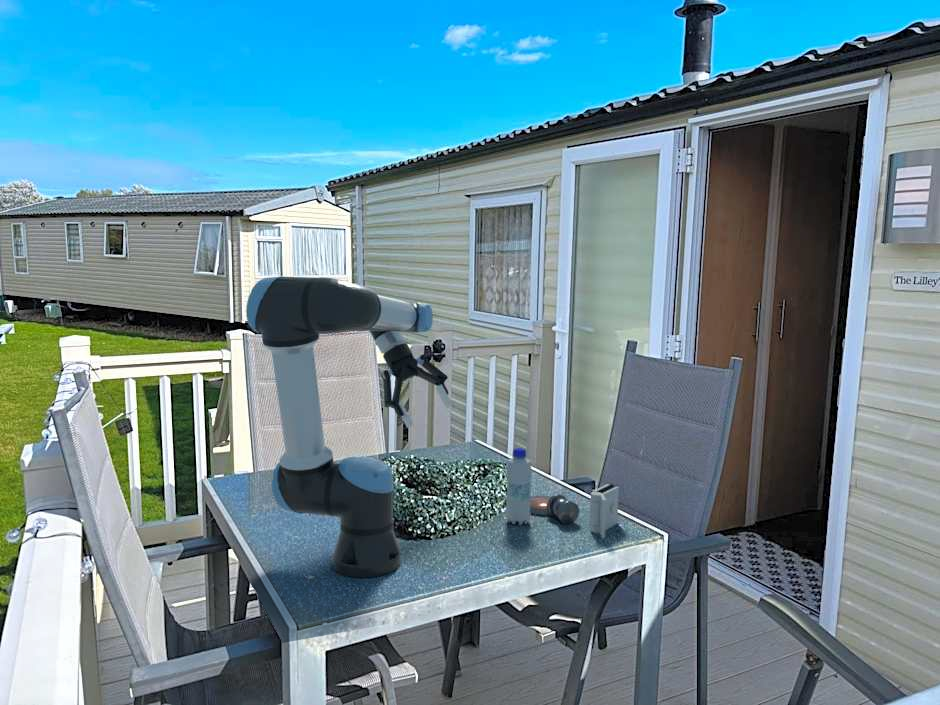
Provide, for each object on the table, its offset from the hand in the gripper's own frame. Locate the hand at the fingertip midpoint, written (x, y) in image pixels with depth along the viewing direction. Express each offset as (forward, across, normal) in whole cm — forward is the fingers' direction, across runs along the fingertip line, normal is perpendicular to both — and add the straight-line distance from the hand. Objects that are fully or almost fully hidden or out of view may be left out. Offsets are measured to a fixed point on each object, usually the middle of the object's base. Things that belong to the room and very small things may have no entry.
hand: (430, 416), depth 184 cm
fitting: (+38, -18, +3) cm, 42 cm away
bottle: (+36, -5, +5) cm, 37 cm away
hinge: (+48, -19, +18) cm, 54 cm away
